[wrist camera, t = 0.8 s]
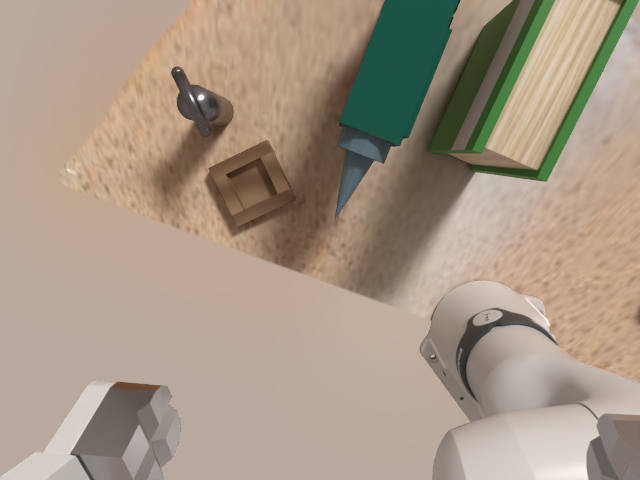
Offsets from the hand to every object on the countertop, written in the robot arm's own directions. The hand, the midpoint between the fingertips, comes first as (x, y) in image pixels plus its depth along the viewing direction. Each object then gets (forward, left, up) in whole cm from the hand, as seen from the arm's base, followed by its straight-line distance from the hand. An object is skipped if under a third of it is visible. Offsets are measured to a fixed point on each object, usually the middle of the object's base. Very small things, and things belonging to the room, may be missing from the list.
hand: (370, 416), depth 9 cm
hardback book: (+3, -22, -61) cm, 65 cm away
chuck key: (+17, +11, -61) cm, 64 cm away
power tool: (+10, -10, -61) cm, 63 cm away
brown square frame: (+6, +11, -61) cm, 62 cm away
